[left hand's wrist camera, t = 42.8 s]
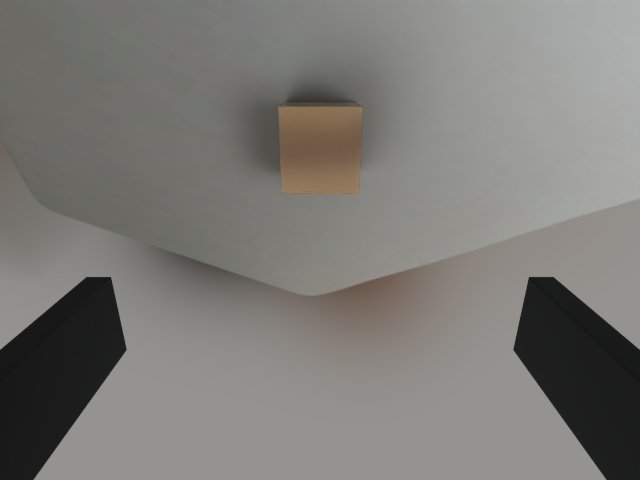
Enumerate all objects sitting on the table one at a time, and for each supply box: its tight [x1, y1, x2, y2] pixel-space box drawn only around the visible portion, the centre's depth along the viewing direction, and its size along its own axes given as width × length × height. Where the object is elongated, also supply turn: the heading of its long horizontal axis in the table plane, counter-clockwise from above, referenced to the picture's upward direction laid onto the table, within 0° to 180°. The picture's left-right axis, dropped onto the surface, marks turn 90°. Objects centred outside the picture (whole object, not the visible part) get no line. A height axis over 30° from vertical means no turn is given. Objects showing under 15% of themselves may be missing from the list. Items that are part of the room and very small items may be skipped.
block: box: [278, 102, 362, 193], centre depth 47 cm, size 9×9×9 cm
